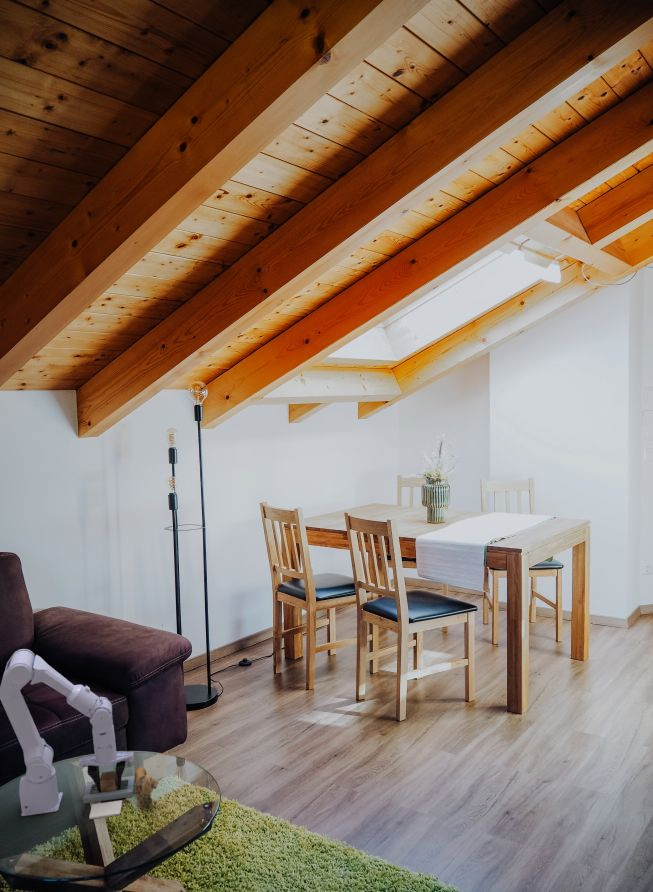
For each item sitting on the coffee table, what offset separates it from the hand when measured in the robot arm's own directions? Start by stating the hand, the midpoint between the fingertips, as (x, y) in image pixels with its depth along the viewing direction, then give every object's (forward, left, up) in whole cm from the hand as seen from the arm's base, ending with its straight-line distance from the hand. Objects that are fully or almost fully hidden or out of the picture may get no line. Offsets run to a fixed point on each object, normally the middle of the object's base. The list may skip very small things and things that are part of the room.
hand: (109, 787), depth 213 cm
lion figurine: (+10, -4, -2) cm, 11 cm away
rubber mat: (0, -8, -1) cm, 8 cm away
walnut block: (0, 0, -2) cm, 2 cm away
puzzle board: (0, 0, -1) cm, 1 cm away
